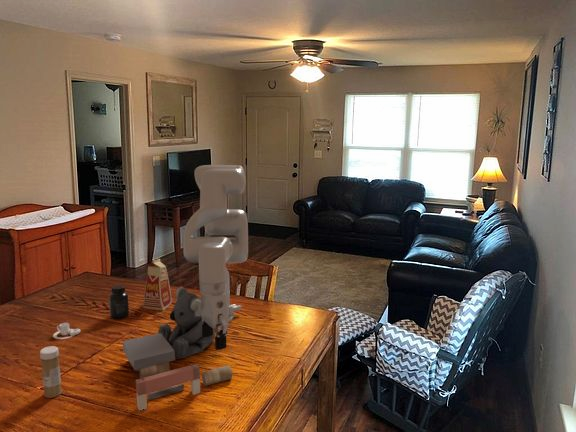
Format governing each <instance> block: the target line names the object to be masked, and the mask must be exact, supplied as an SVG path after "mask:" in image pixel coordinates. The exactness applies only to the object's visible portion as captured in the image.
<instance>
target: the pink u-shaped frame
mask: <svg viewBox="0 0 576 432" xmlns="http://www.w3.org/2000/svg"><path fill="white" fill-rule="evenodd" d="M200 369H201V368H200V366H199V364H198V363H194V364H191V365H188V366H183V367H179V368H175V369H170V371H167V372H164V373H160V374H156V375H152V376H149V377H145V378H138V379H135V388H136V389H135V392H136V406H137V407H138V408H137V407H136V408H137V409H139V410H138V412H141V411H144V410H147V409H148V406H147V402H148V401H147V395H148V394H149V393H152V392H156V391H159V390H163V389H166V388H170V387H174V386H177V385H181V384H185V383H189V382H190V392H191V394H192V395H197V394H201V374H200V373H201V371H200ZM143 409H144V410H143ZM140 410H141V411H140Z"/></svg>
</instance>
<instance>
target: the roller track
mask: <svg viewBox="0 0 576 432" xmlns="http://www.w3.org/2000/svg"><path fill="white" fill-rule="evenodd" d="M169 362H170V361H169ZM169 362H165V363H161V364H157V365H153V366H149V367H146V368H142V369H138V370H135V371H136V372H138V373H139V377H140V378H139V379H141V378H145V377H149V376H152V375H156V374H160V373H164V372H167V371H171V367H170V363H169ZM184 385H185V384H184V383H182V384H179V385H175V386H172V387H168V388H165V389H161V390H158V391H154V392H151V393H147V400H148V401H150V400H154V399H158V398H161V397H164V396H168V395H171V394H175V393H177V392H182V391H184V390H185V386H184Z"/></svg>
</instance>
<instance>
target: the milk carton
mask: <svg viewBox="0 0 576 432" xmlns="http://www.w3.org/2000/svg"><path fill="white" fill-rule="evenodd" d="M168 275H169V274H168V270H167V266H166V265H165V264H164V263H162V262H161V258H157V259H153V260H152V263H151V264H149V265H148V266H147V273H146V283H145V290H144V295H143V296H144V298H143V305H142V308H143V309H147V310H156V311H165V310H166V309H167V308H168V307H169V306H170V305H171V304H172V303H173V300H172V292H171V286H170V280H169V276H168Z"/></svg>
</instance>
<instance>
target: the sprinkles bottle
mask: <svg viewBox="0 0 576 432" xmlns="http://www.w3.org/2000/svg"><path fill="white" fill-rule="evenodd" d="M59 353H60V352H59V348H58V347H57V346H53V345H50V346H46V347H42V349H41V350H39V356H40V357H39V358H40V360H41V370H42V371H41V372H42V374H41V375H42V385H43V391H44V392H43V395H44V397H45V398H48V399H49V398H50V399H52V398H55V397H58V396H60V395H61V394H62V393H63V390H62V385H61V383H62V379H61V368H60V360H59V355H60V354H59Z"/></svg>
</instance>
